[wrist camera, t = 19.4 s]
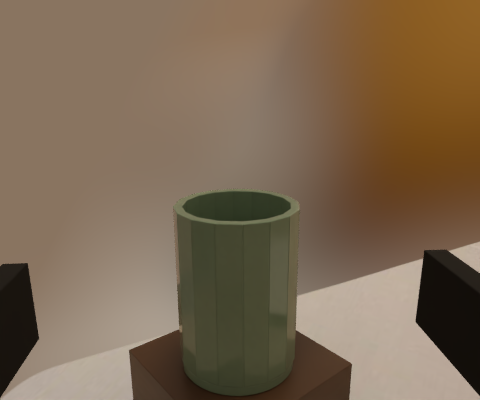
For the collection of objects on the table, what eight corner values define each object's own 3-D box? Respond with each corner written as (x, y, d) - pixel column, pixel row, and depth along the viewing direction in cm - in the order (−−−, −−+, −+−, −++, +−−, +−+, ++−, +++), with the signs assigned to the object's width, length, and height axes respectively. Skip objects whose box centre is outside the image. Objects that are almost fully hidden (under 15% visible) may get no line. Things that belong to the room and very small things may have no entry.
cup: (161, 352, 27) (151, 201, 24) (245, 315, 31) (245, 183, 29) (227, 416, 22) (224, 234, 19) (317, 361, 26) (325, 206, 23)
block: (135, 425, 29) (128, 349, 27) (247, 365, 35) (247, 300, 33) (222, 545, 21) (220, 450, 20) (346, 442, 27) (352, 363, 26)
